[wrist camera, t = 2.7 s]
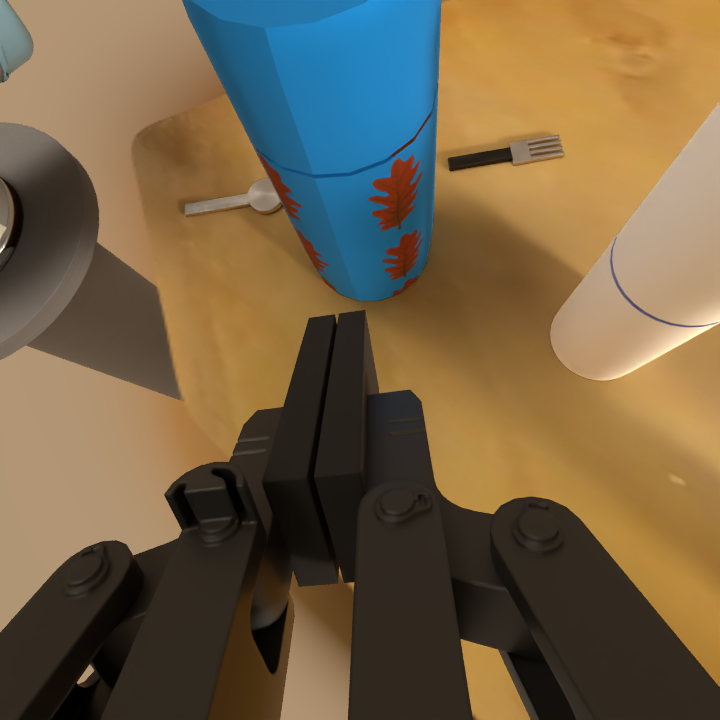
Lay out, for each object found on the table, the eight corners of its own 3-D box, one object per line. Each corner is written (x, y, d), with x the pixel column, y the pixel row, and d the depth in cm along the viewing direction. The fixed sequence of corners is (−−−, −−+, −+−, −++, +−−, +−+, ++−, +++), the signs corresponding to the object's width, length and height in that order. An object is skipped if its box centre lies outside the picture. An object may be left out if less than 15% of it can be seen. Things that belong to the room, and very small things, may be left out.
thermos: (360, 327, 39) (263, 84, 16) (289, 244, 43) (116, -66, 19) (457, 250, 40) (507, -98, 16) (380, 173, 43) (327, -213, 19)
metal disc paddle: (186, 227, 45) (183, 224, 44) (186, 195, 46) (183, 192, 45) (286, 210, 44) (285, 207, 43) (284, 178, 45) (283, 174, 44)
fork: (450, 176, 42) (450, 173, 42) (446, 156, 43) (447, 152, 42) (563, 157, 41) (564, 153, 41) (557, 137, 42) (559, 133, 41)
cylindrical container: (530, 332, 37) (721, 61, 14) (596, 278, 38) (890, -77, 14) (598, 399, 35) (963, 218, 11) (666, 340, 36) (1152, 50, 12)
